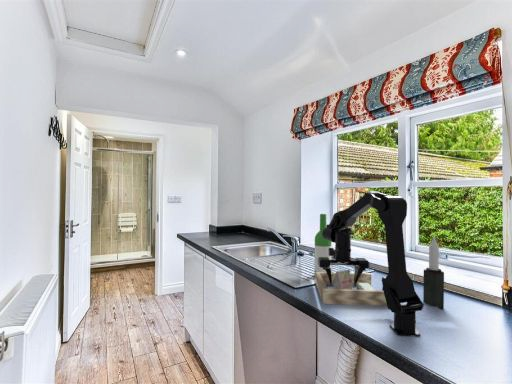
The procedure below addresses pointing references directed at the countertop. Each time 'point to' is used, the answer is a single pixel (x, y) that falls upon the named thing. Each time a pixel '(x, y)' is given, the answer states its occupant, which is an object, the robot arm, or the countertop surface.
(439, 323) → the countertop surface
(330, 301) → the beige shallow tray
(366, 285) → the offcut top
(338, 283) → the white printed packet
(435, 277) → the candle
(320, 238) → the wine bottle
